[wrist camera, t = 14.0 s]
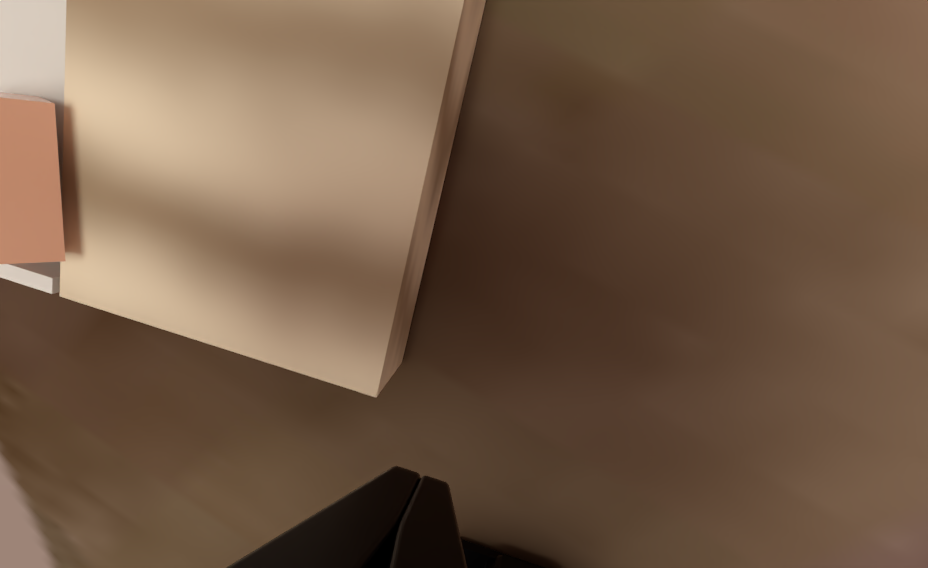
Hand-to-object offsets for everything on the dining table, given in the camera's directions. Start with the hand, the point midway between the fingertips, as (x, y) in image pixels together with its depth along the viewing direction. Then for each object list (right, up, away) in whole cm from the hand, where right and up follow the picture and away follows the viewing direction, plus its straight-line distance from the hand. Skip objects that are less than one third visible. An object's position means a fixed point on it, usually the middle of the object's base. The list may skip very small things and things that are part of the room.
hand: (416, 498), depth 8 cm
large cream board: (-5, +11, +11) cm, 16 cm away
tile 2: (-14, +7, +11) cm, 19 cm away
